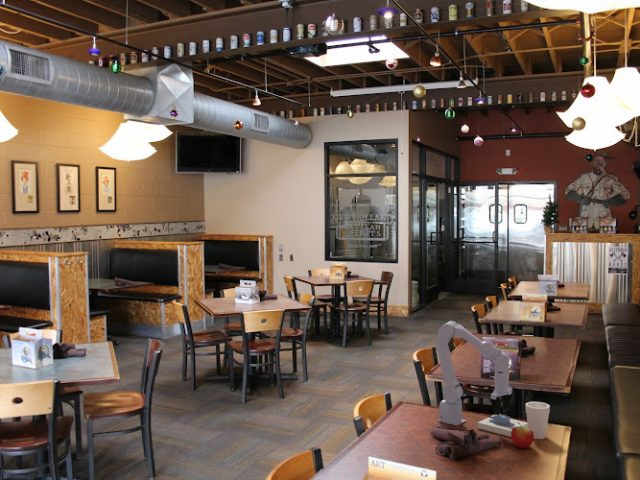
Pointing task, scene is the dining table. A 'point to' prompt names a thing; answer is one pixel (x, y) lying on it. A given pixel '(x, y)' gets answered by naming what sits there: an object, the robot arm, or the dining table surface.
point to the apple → (522, 436)
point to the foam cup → (537, 418)
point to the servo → (501, 420)
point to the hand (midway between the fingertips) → (501, 412)
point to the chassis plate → (500, 426)
